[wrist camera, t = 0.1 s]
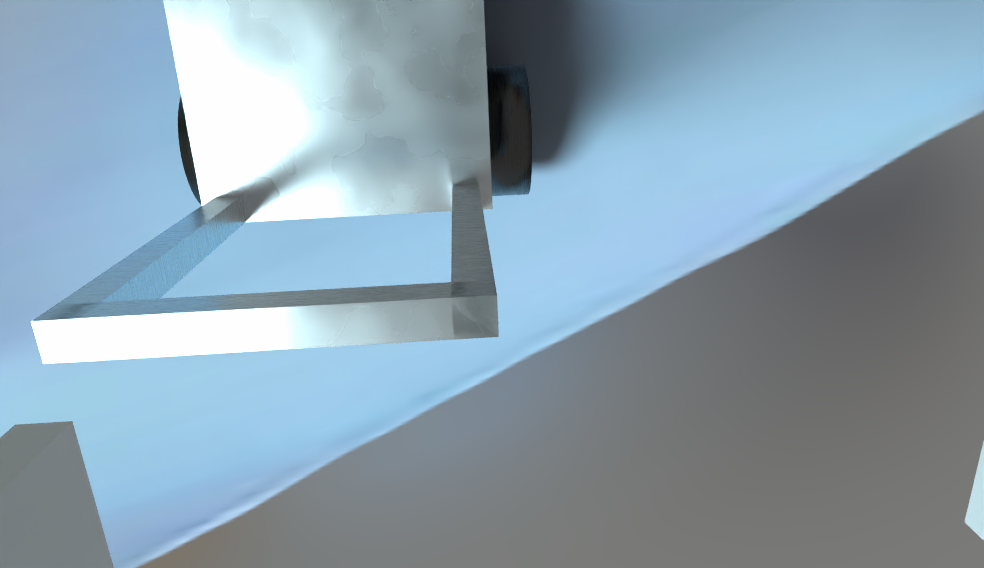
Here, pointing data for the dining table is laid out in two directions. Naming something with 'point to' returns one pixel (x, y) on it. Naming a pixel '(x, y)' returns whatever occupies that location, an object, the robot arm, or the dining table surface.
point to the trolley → (317, 173)
